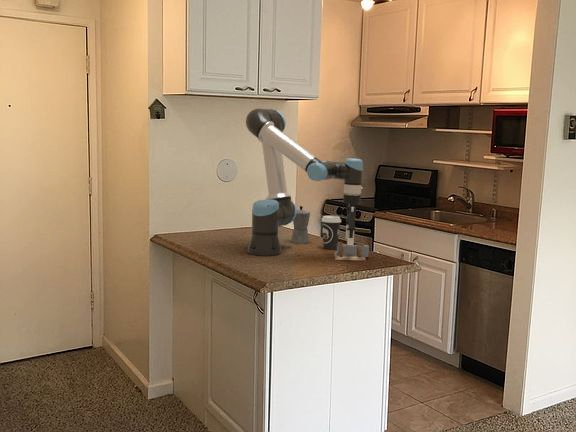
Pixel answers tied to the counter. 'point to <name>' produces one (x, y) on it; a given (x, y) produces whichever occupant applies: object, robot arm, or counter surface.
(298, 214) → the coffeepot
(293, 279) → the counter surface
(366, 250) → the grey metal bar
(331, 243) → the coffee cup
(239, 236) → the counter surface
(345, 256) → the rack
